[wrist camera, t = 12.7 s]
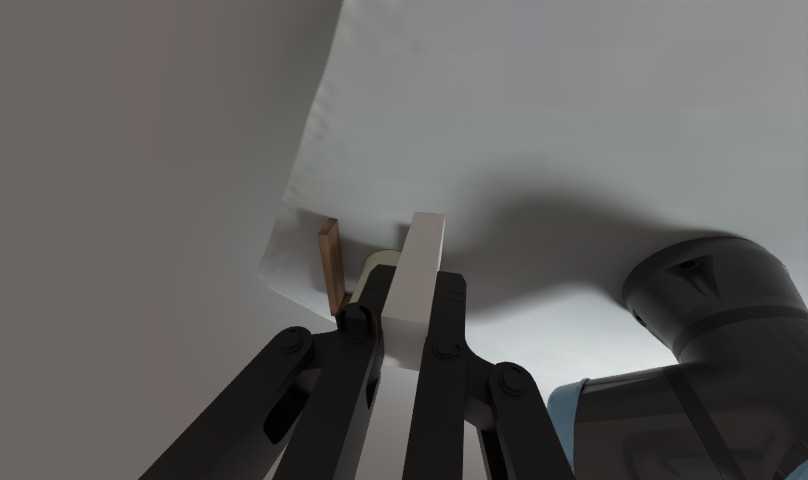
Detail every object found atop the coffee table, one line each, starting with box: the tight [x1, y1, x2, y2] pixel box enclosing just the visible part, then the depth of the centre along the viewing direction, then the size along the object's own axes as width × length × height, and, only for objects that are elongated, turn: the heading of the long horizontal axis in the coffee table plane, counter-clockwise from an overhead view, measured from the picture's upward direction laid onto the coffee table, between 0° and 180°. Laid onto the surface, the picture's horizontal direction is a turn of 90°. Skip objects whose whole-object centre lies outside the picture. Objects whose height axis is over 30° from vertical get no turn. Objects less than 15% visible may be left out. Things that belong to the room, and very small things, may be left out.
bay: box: [318, 218, 352, 316], centre depth 45 cm, size 15×17×4 cm
